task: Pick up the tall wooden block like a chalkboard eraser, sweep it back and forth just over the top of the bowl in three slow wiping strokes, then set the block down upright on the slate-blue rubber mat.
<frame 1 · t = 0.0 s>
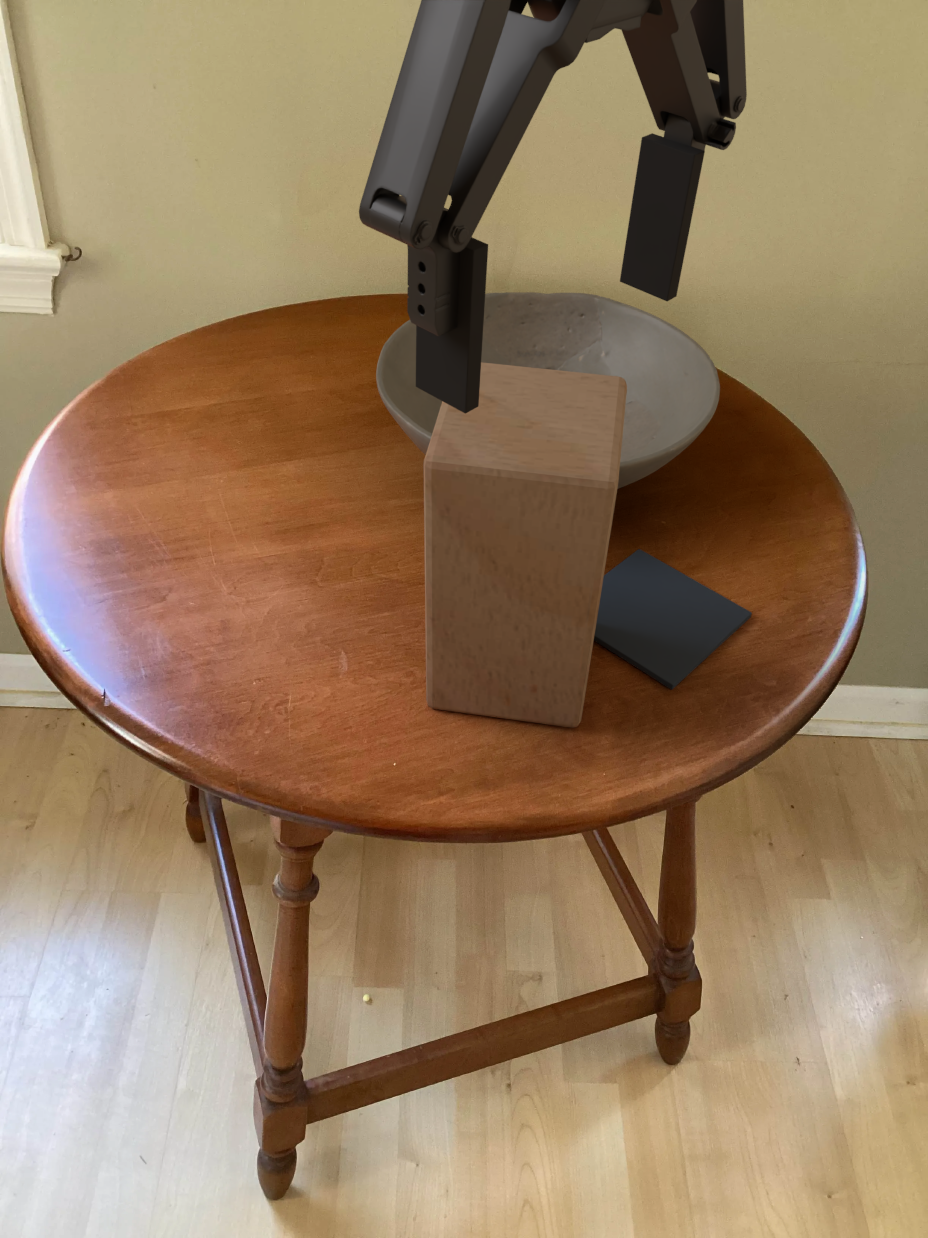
hand: (555, 339, 45), 29 cm above the table, tool pointing down, fingers open, 13 cm apart
bowl: (539, 452, 89), on the table
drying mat: (653, 617, 75), on the table
wooden block: (511, 666, 70), on the table, touching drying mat
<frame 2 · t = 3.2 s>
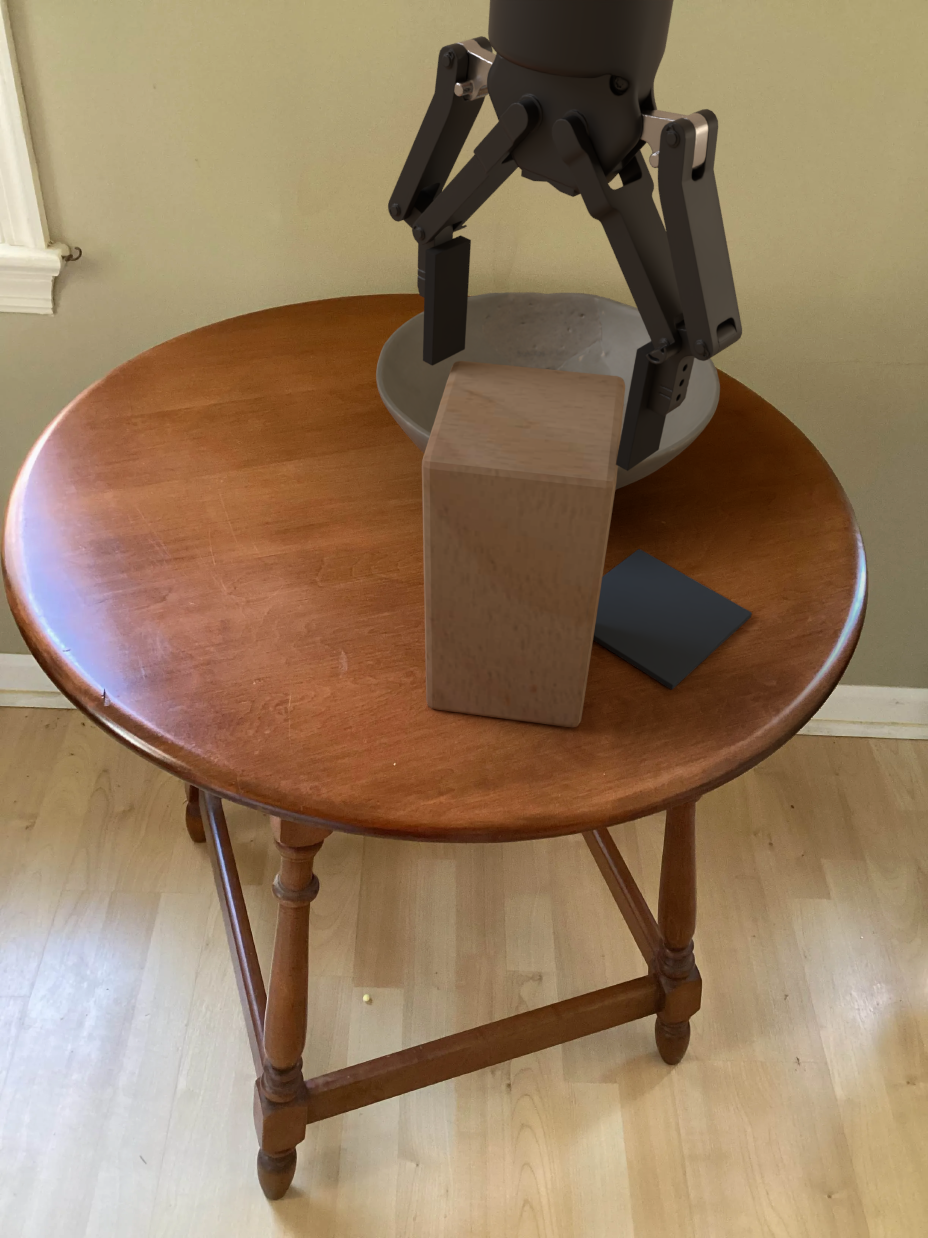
hand: (535, 404, 57), 20 cm above the table, tool pointing down
wooden block: (511, 666, 70), on the table, touching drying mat, gripper
everything else where it was.
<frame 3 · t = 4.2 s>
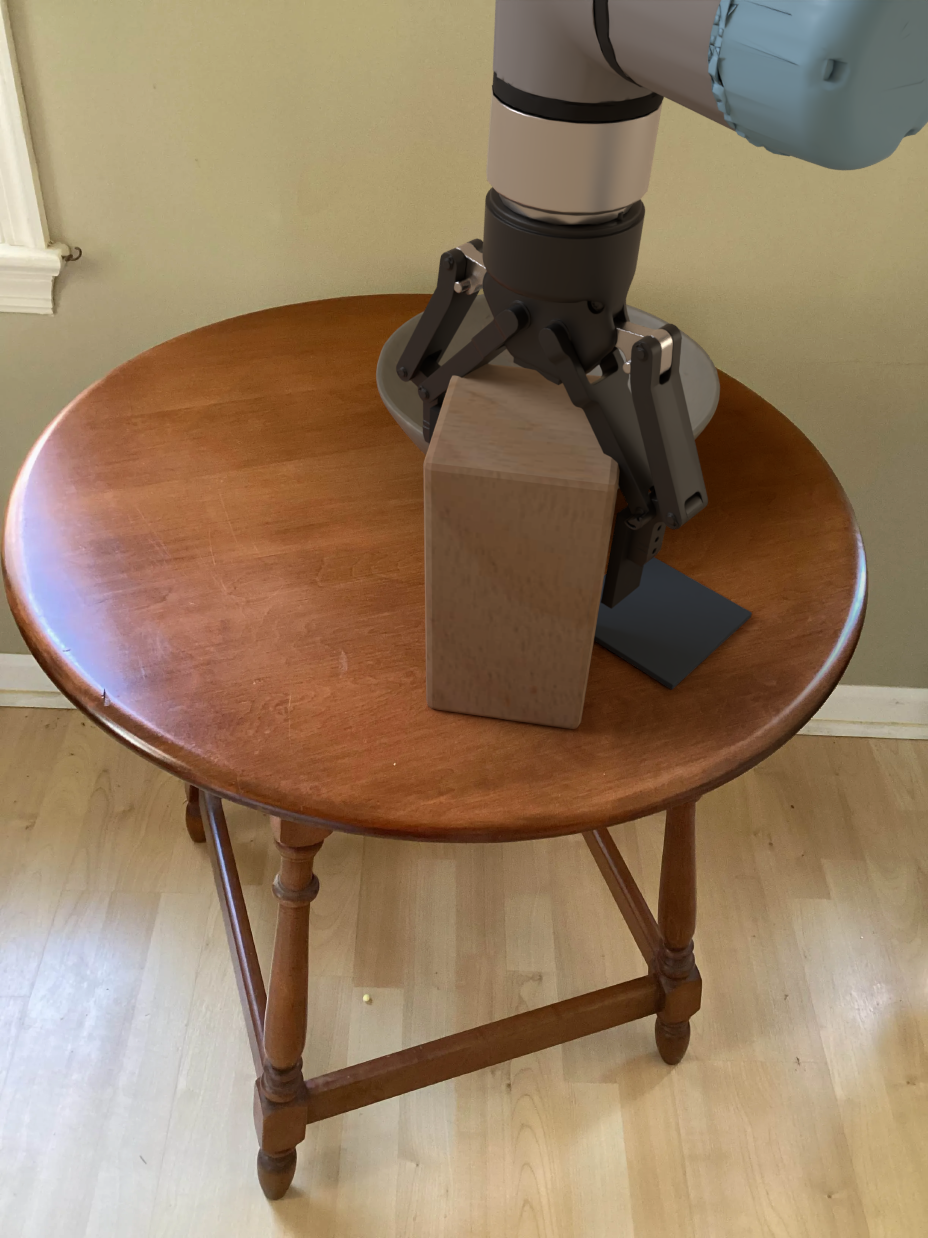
hand: (529, 540, 63), 11 cm above the table, tool pointing down
wooden block: (511, 666, 70), on the table, touching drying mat, gripper
everything else where it was.
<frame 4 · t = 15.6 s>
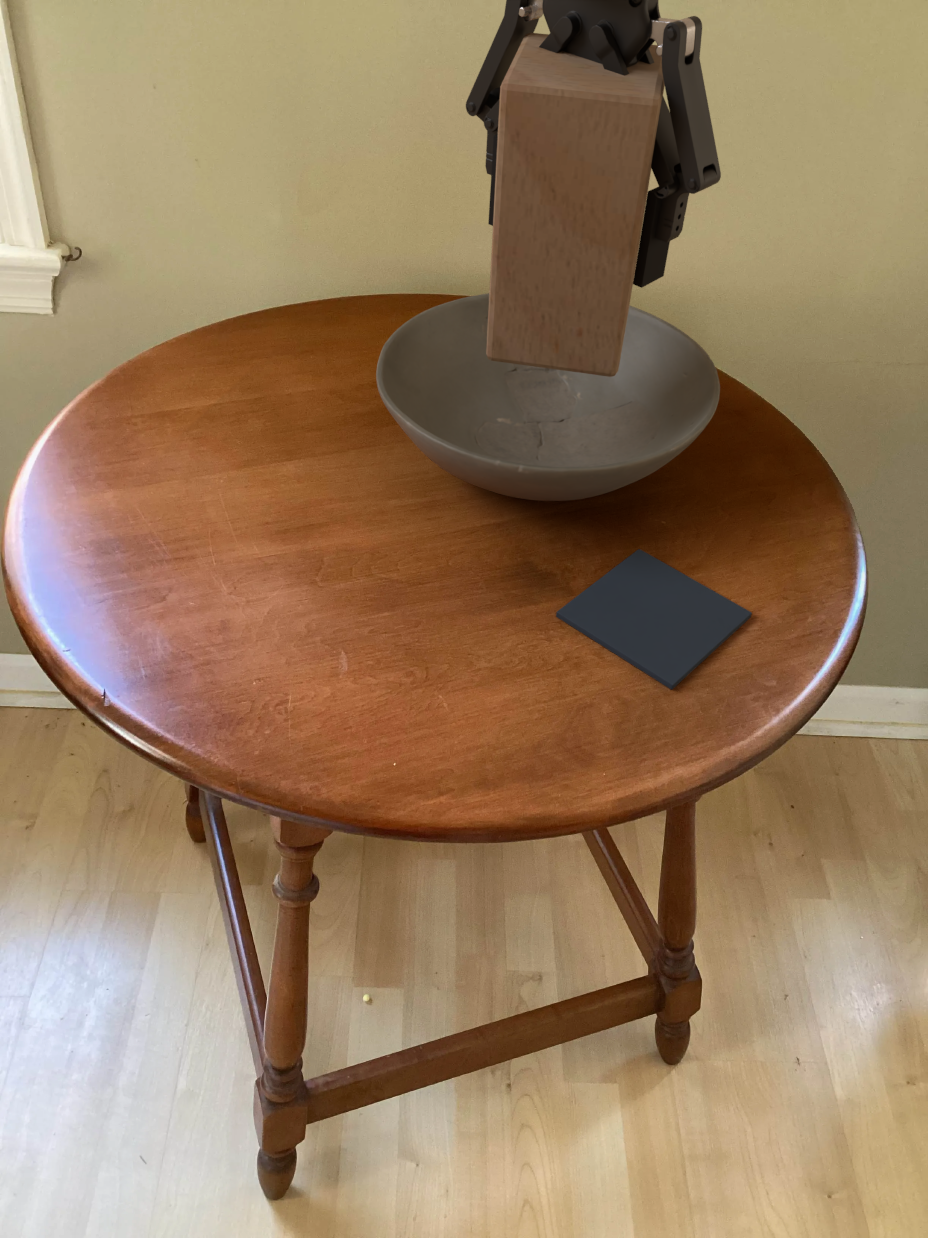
hand: (572, 249, 77), 18 cm above the table, tool pointing down
wooden block: (558, 338, 82), point 11 cm above the table, touching gripper, hand
everything else where it was.
when the fingers open (8 cm above the table, at t = 26.2 s): wooden block stays where it is, resting on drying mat.
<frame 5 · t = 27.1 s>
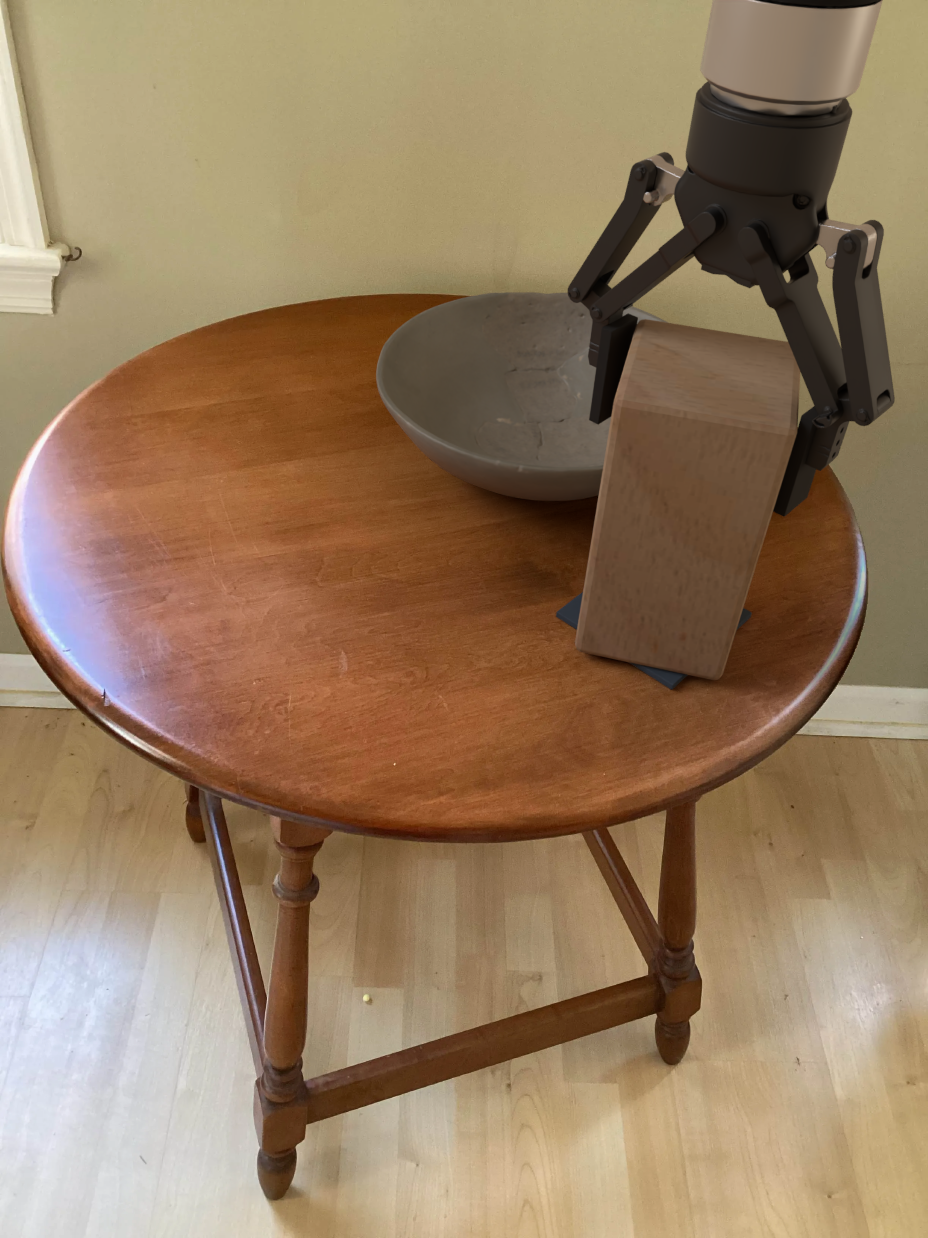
hand: (693, 457, 65), 14 cm above the table, tool pointing down, fingers open, 13 cm apart
wooden block: (654, 621, 74), resting on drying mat
everything else where it was.
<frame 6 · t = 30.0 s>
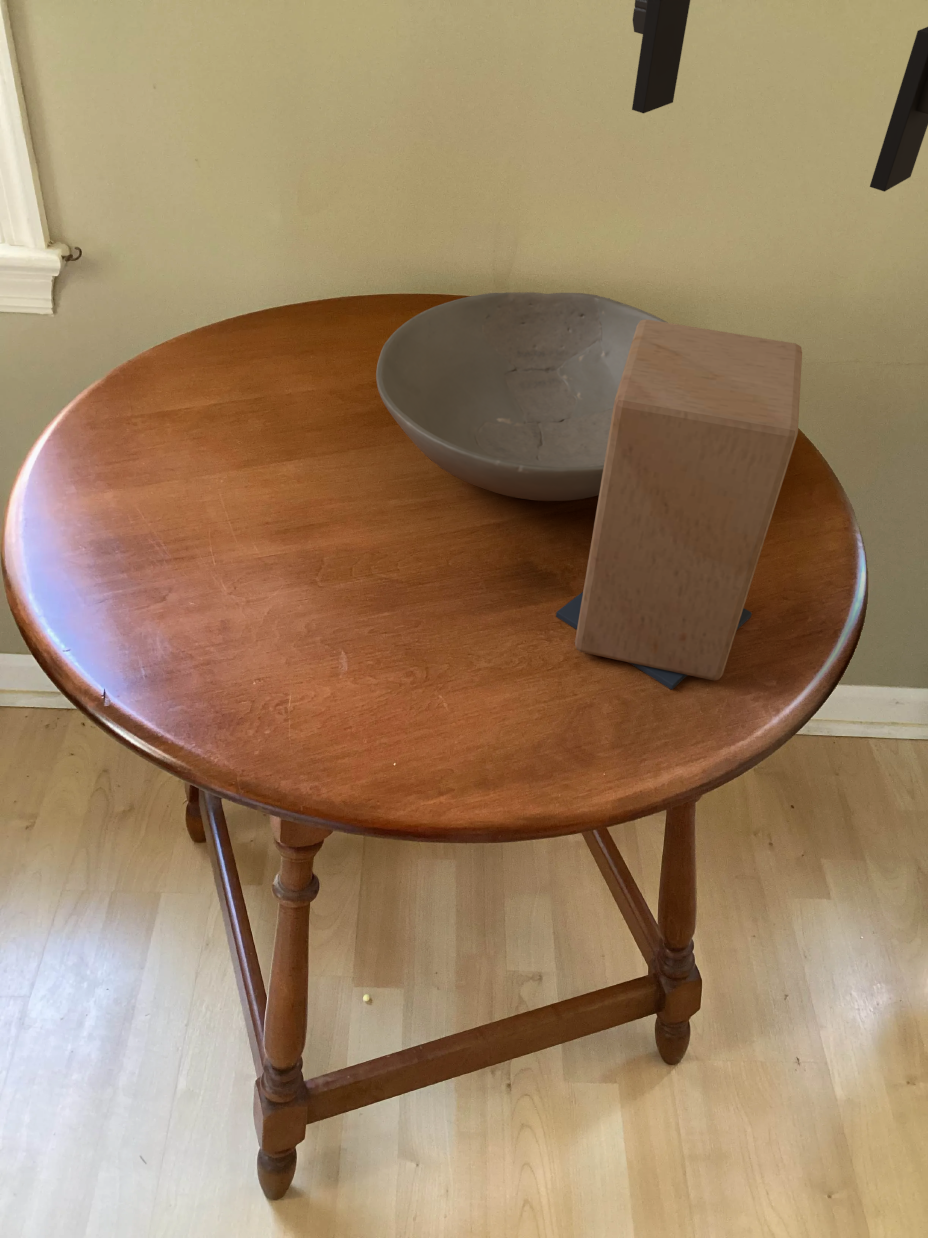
hand: (763, 142, 52), 33 cm above the table, tool pointing down, fingers open, 13 cm apart
nothing on the table moved.
at the end: wooden block inside the target area on the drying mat (0.9 cm from its centre), point 0.3 cm above the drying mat's base; wooden block tilted 0°; bowl moved 0.2 cm from its start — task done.
